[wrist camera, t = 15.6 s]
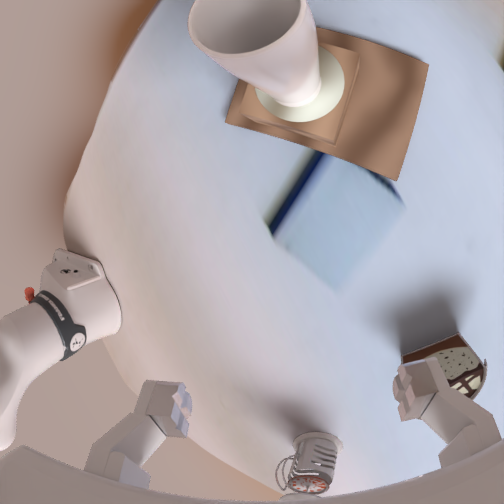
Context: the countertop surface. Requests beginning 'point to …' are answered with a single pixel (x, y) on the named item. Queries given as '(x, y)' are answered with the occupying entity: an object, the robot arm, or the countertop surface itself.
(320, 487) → the french press
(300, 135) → the walnut display stand
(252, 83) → the drinking glass
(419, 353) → the food container
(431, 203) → the countertop surface
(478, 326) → the countertop surface
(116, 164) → the countertop surface
